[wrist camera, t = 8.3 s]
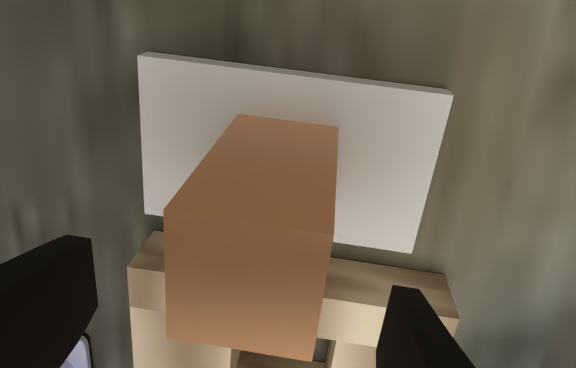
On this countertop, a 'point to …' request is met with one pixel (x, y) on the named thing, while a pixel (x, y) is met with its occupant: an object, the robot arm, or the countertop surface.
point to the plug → (253, 239)
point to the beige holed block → (332, 324)
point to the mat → (309, 109)
